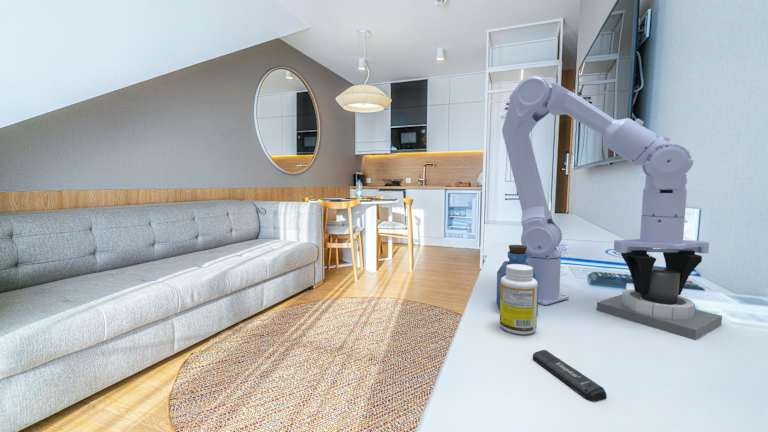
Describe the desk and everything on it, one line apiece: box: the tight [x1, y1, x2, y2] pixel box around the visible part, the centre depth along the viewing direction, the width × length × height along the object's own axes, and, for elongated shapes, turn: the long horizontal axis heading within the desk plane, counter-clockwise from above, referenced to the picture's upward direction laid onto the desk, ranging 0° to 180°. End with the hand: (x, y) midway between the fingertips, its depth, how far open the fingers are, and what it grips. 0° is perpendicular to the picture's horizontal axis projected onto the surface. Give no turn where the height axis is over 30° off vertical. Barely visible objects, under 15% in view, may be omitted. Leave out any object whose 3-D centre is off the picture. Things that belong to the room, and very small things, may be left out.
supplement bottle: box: [499, 264, 538, 336], centre depth 53 cm, size 6×6×10 cm
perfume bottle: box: [495, 244, 539, 318], centre depth 62 cm, size 6×6×12 cm
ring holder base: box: [596, 288, 723, 341], centre depth 58 cm, size 14×11×4 cm
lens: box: [640, 265, 680, 305], centre depth 57 cm, size 5×5×6 cm
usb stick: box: [532, 349, 607, 402], centre depth 40 cm, size 10×3×2 cm, turn 14°
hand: (657, 293), depth 58 cm, fingers closed on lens, 5 cm apart
